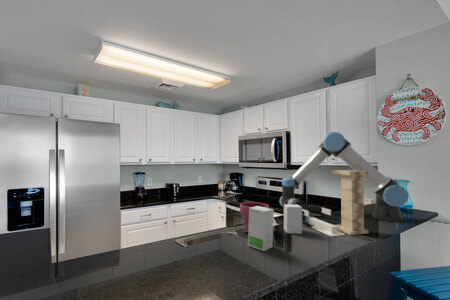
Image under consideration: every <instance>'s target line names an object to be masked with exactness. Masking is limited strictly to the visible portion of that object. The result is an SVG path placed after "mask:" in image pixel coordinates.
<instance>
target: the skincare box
mask: <svg viewBox="0 0 450 300" xmlns="http://www.w3.org/2000/svg"><path fill="white" fill-rule="evenodd" d="M274 211H275V209H273V208H266V207H260V206H255V207H251V208H249V228H248V233H247V234H248V235H247V246H248V247H250V248H254V249H255V250H260V251H262V252H265V251H268V250H270V249H272V248H273V241H274V240H273V236H274V213H275V212H274Z"/></svg>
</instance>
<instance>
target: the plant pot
mask: <svg viewBox="0 0 450 300" xmlns="http://www.w3.org/2000/svg"><path fill="white" fill-rule="evenodd" d="M255 206H260V207H266V208H269V207H270V206H269V204H268V203H267V204H266V203H262V202H251V201H250V202H248V201H247V202H242V203H240V204H239V212H240V214H241V216H242V217H241V219H242V222H243V223H242V224H243V226H244V227H243V228H244V231H245V232H248V228H249V208H251V207H255ZM269 209H270V208H269Z"/></svg>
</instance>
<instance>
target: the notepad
mask: <svg viewBox="0 0 450 300" xmlns="http://www.w3.org/2000/svg"><path fill="white" fill-rule="evenodd" d="M311 227H312V228H311V229H313V228H314V229H313V230H315V229H316V231H318V232H320V233H323V234H325V235H326V236H328V237H340V236H346V233H344V232H341V231H339V230H337V233H334V234H331V233H329V232H327V231H324V230H322V229H320V228H317V227H315V226H313V225H312V226H311Z"/></svg>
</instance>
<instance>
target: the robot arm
mask: <svg viewBox="0 0 450 300" xmlns="http://www.w3.org/2000/svg"><path fill="white" fill-rule="evenodd" d="M331 156H333V157H335V159H337V158H338V159H341V160H342V161H343V162H344V163H345V164H346V165H348V166H349V167H350V169H351V170H355V171H368V175H366V176H363V181H365V182H366V183H368V185H369V186H371V187H372V191H373V192H374V193H375V207H374V210H373V213H372V218H373V219H376V220H378V221H379V220H380V221H385V222H393V223H394V222H395V223H397V222H398V223H400V222H403V221H404V216H403V214H402V211H401V208H400V207H401V206H403V205H405V204H406V203H407V202H408V200H409V193H408V191H407V189H406V187H404V186H402V185H400V183H399V181H398V180H394V179H393V178H391V177H387V176H385V175H384V174H383V173H381V172H380V171H379V170H378V169H377V168H376V167H374V165H372V164H371V163H370V162H368V161H367V160H366V159H365V158H364V157H363V156H361V154H359V153H358V152H357V151H356V150H354V148H352V143H351V142H350V141H348V140H347V139H346V138H345V137H344V134H341V133H340V132H337V131H330V132H328V133H327V134H325V135H324V136H323V138H322V142H321V143H320V145H319V146H317V150H316V151H315V152H313V154H312V155H311V156H310V157H309V158H308V159H307V160H306V161H305V162H304V163H303V164H301V166H300V167H299V168H298V169H297V170H296V171H295V172H294V173H293V174H292V175H291V176H290V177H284V178H282V182H281V187H282V189H281V190H282V193H281V195H282V196H280V198H279V205H280V206H281V207H283V208H284V205H299V206H301V207H302V216H305V217H309V216H310V212H312V211H313V212H319V213H322V214H324V215H328V216H332V209H330V208H327V207H326V206H324V205H322V206H320V205H315V204H308V203H305V201H303V200H301V199H299V198H295V190H296V189H297V188H298V186H300V184H302V182H304V180H306V179H307V178H308V177H309V176H310V174H312V173H313V172H314V171H315V169H317V168H318V167H319V166H320V165H321V164H322V163H323V162H324V161H325V160H326V159H327V158H330V157H331Z"/></svg>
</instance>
